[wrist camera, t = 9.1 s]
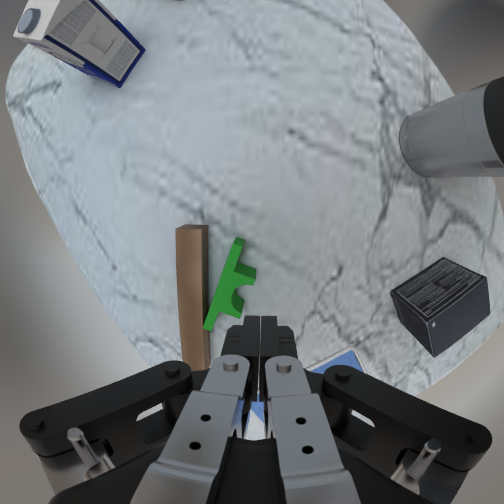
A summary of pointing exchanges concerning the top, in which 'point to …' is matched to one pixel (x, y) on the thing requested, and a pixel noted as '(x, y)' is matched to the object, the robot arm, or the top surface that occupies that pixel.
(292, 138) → the top surface
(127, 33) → the milk carton
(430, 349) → the small box
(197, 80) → the top surface
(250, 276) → the pipe clamp
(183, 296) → the block
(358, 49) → the top surface
